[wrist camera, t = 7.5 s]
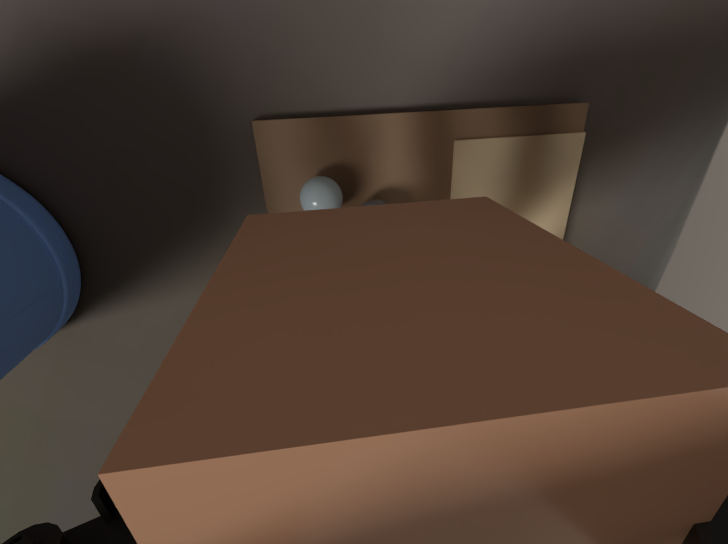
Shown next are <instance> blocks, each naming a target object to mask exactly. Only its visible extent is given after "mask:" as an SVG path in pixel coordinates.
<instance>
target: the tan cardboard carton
mask: <svg viewBox="0 0 728 544" xmlns="http://www.w3.org/2000/svg"><path fill="white" fill-rule="evenodd" d="M98 476H99V478H100V480H101V482H102V483H103V485H104V487H105V488H106V490H107V492H108V494H109V495H110V497H111V499H112V501H113V502H114V504H115V506H116V508H117V509H118V511H119V513H120V514H121V516H122V518H123V520H124V521H125V523H126V525H127V527H128V528H129V530H130V532H131V533H132V535H133V537H134V539H135V540H136V542H137V544H682V542H683V541H684V539H685V538H686V536H687V534H688V533H689V531H690V529H691V528H692V526H693V525H694V524H697V523H702V522H708V521H711V520H712V518H713V517H714V515H715V514H716V512H717V511H718V509H719V508H720V506H721V505H722V503H723V501H724V500H725V498H726V497H727V495H728V333H727V332H725V331H723V330H721V329H720V328H718V327H716V326H714V325H712V324H711V323H709V322H707V321H705V320H703V319H702V318H700V317H698V316H696V315H695V314H693V313H691V312H689V311H687V310H686V309H684V308H682V307H681V306H679V305H677V304H675V303H674V302H672V301H670V300H668V299H666V298H665V297H663V296H661V295H659V294H658V293H656V292H654V291H652V290H651V289H649V288H647V287H645V286H643V285H642V284H640V283H638V282H636V281H635V280H633V279H631V278H629V277H628V276H626V275H624V274H622V273H620V272H619V271H617V270H615V269H613V268H612V267H610V266H608V265H606V264H605V263H603V262H601V261H599V260H598V259H596V258H594V257H592V256H590V255H589V254H587V253H585V252H583V251H582V250H580V249H578V248H576V247H575V246H573V245H571V244H569V243H567V242H566V241H564V240H562V239H560V238H559V237H557V236H555V235H553V234H552V233H550V232H548V231H546V230H544V229H543V228H541V227H539V226H537V225H536V224H534V223H532V222H530V221H529V220H527V219H525V218H523V217H521V216H520V215H518V214H516V213H514V212H513V211H511V210H509V209H507V208H506V207H504V206H502V205H500V204H498V203H497V202H495V201H493V200H491V199H490V198H488V197H473V198H460V199H447V200H435V201H422V202H409V203H396V204H384V205H371V206H358V207H345V208H332V209H320V210H307V211H294V212H281V213H269V214H256V215H247V217H246V219H245V220H244V222H243V224H242V225H241V227H240V229H239V231H238V232H237V234H236V236H235V238H234V239H233V241H232V243H231V245H230V246H229V248H228V250H227V251H226V253H225V255H224V257H223V258H222V260H221V262H220V264H219V265H218V267H217V269H216V270H215V272H214V274H213V276H212V277H211V279H210V281H209V283H208V284H207V286H206V288H205V290H204V291H203V293H202V295H201V296H200V298H199V300H198V302H197V303H196V305H195V307H194V309H193V310H192V312H191V314H190V315H189V317H188V319H187V321H186V322H185V324H184V326H183V328H182V329H181V331H180V333H179V335H178V336H177V338H176V340H175V341H174V343H173V345H172V347H171V348H170V350H169V352H168V354H167V355H166V357H165V359H164V360H163V362H162V364H161V366H160V367H159V369H158V371H157V373H156V374H155V376H154V378H153V380H152V381H151V383H150V385H149V386H148V388H147V390H146V392H145V393H144V395H143V397H142V399H141V400H140V402H139V404H138V405H137V407H136V409H135V411H134V412H133V414H132V416H131V418H130V419H129V421H128V423H127V425H126V426H125V428H124V430H123V431H122V433H121V435H120V437H119V438H118V440H117V442H116V444H115V445H114V447H113V449H112V450H111V452H110V454H109V456H108V457H107V459H106V461H105V463H104V464H103V466H102V468H101V470H100V471H99V473H98Z"/></svg>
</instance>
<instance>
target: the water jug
mask: <svg viewBox="0 0 728 544" xmlns="http://www.w3.org/2000/svg"><path fill="white" fill-rule="evenodd" d="M80 290H81V274H80V268H79V264H78V260H77V257H76V254H75V251H74V249H73V247H72V245H71V243H70V241H69V239H68V237H67V236H66V234H65V232H64V231H63V229H62V228H61V227H60V225H59V224H58V223H57V221H56V220H55V219H54V218H53V216H52V215H51V214H50V213H49V212H48V211H47V210H46V209H45V208H44V207H43V206H42V205H41V204H40V203H39V202H38V201H37V200H36V199H35V198H33V197H32V196H31V195H30V194H29V193H27V192H26V191H25V190H23V189H22V188H21V187H19V186H18V185H16V184H15V183H13V182H12V181H10V180H9V179H7V178H6V177H4V176H2V175H0V380H1V379H2V378H3V377H4V376H5V375H6V374H7V373H9V372H10V371H11V370H12V369H13V368H14V367H15V366H16V365H18V364H19V363H20V362H21V361H22V360H23V359H24V358H25V357H26V356H28V355H29V354H30V353H31V352H32V351H33V350H35V349H36V348H38V347H40V346H41V345H42V344H44V343H45V342H46V341H48V340H49V339H50V338H51V337H52V336H53V335H54V334H55V333H56V332H58V331H59V330H60V329H61V328H62V327H63V326H64V325H65V324H66V322H67V321H68V320H69V319H70V317H71V316H72V314H73V312H74V310H75V308H76V306H77V303H78V300H79V296H80Z"/></svg>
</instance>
